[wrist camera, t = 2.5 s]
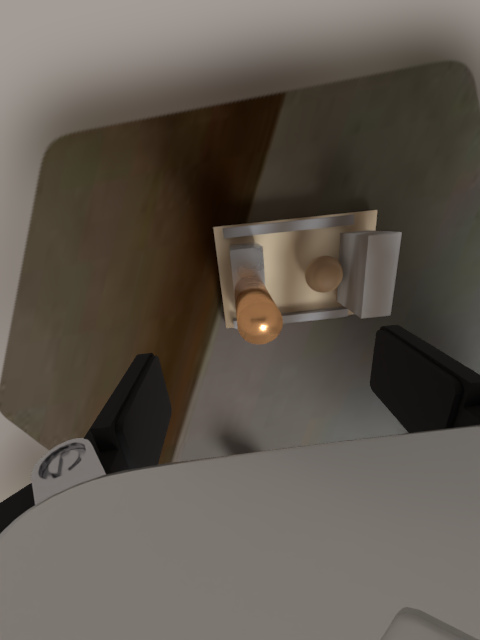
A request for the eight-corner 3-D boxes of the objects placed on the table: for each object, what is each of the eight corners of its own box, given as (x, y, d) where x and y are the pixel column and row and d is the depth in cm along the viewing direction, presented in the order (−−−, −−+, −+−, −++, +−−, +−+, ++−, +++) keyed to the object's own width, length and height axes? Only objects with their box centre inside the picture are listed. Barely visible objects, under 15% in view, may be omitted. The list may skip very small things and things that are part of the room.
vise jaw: (256, 242, 27) (280, 259, 15) (260, 310, 30) (284, 372, 18) (229, 245, 27) (230, 264, 15) (236, 312, 30) (242, 377, 18)
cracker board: (370, 210, 28) (416, 206, 21) (361, 308, 33) (397, 332, 26) (213, 227, 28) (209, 228, 21) (226, 323, 33) (226, 351, 26)
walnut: (334, 251, 28) (351, 256, 25) (333, 285, 30) (348, 294, 26) (300, 255, 28) (311, 260, 25) (300, 289, 30) (311, 298, 26)
